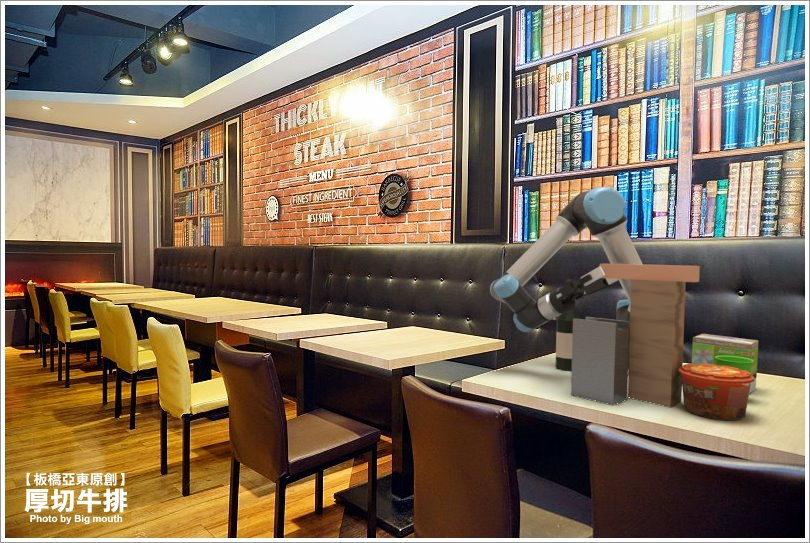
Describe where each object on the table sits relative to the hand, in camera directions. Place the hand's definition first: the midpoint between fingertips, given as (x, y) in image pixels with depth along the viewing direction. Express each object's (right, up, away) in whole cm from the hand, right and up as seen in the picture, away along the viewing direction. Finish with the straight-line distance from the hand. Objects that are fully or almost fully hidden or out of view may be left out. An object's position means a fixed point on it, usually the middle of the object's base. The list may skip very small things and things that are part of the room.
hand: (614, 270), depth 144 cm
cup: (+30, -35, -5) cm, 46 cm away
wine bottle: (-4, -33, +29) cm, 45 cm away
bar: (+6, -2, -7) cm, 9 cm away
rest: (-7, -34, -6) cm, 35 cm away
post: (+8, -35, -7) cm, 36 cm away
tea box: (+35, -35, +8) cm, 50 cm away
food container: (+17, -35, -17) cm, 43 cm away
